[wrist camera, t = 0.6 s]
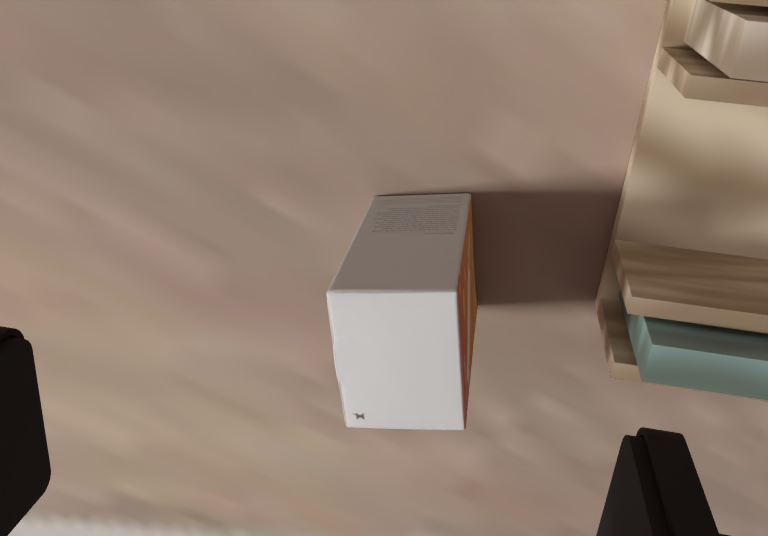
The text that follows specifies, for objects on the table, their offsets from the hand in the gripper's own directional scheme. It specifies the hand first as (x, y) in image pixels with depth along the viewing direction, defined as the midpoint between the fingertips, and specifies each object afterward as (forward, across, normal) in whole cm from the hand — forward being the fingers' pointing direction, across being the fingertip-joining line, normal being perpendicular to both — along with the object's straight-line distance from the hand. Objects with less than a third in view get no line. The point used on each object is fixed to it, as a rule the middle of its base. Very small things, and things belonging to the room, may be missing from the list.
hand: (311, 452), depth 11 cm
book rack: (+33, -15, +3) cm, 36 cm away
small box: (+33, +1, +11) cm, 35 cm away
